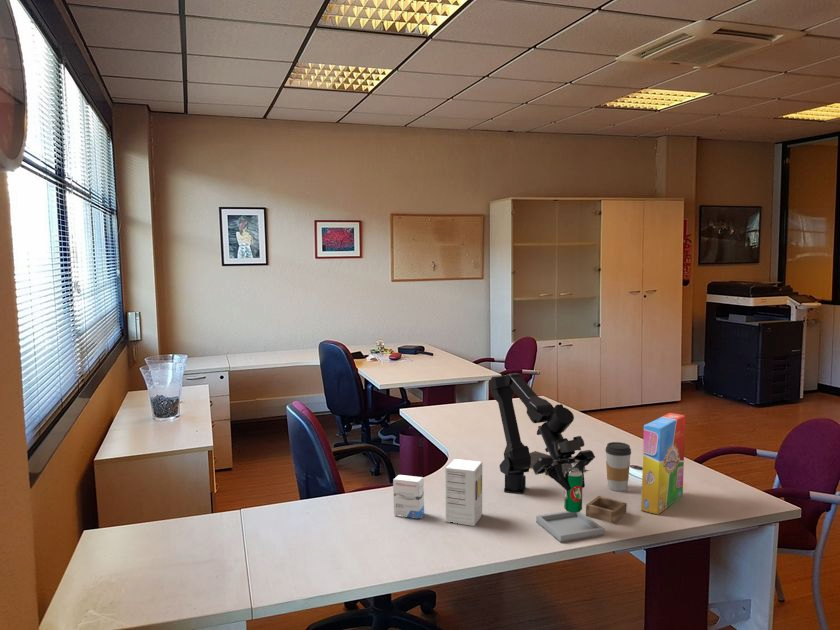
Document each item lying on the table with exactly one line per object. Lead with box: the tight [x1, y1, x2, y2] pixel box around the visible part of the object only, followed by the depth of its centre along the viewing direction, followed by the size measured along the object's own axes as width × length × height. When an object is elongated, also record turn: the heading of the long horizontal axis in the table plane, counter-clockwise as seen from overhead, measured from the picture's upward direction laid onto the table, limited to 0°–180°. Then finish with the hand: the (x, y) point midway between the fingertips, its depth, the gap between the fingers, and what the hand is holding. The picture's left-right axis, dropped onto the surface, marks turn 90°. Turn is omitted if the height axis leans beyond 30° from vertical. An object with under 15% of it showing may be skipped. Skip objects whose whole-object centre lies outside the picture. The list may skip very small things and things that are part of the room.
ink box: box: [392, 474, 425, 519], centre depth 194 cm, size 8×5×12 cm, turn 71°
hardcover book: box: [529, 450, 586, 479], centre depth 236 cm, size 16×23×2 cm
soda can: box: [563, 468, 583, 513], centre depth 183 cm, size 5×5×12 cm
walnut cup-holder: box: [585, 495, 628, 525], centre depth 193 cm, size 9×9×4 cm
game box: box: [640, 412, 686, 515], centre depth 200 cm, size 21×6×27 cm, turn 137°
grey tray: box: [535, 510, 605, 544], centre depth 183 cm, size 14×14×2 cm
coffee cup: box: [605, 441, 632, 493], centre depth 213 cm, size 8×8×15 cm
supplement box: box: [444, 458, 483, 527], centre depth 191 cm, size 10×9×17 cm
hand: (576, 488), depth 182 cm, fingers closed on soda can, 5 cm apart
